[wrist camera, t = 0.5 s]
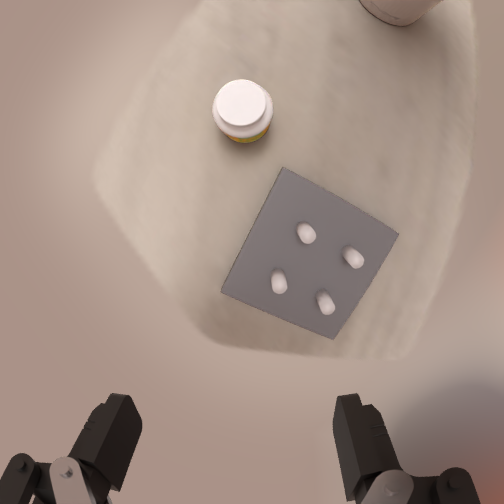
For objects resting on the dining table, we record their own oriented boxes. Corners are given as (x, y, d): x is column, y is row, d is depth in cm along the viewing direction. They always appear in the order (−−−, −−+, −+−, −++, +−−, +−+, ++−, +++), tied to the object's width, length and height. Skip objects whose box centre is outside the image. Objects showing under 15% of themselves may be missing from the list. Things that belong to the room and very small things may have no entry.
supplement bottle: (241, 153, 31) (234, 148, 22) (211, 117, 30) (192, 99, 20) (279, 124, 30) (289, 108, 21) (249, 88, 29) (246, 59, 19)
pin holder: (282, 167, 31) (286, 167, 27) (395, 231, 33) (412, 241, 29) (221, 288, 36) (217, 305, 31) (331, 334, 38) (339, 355, 33)
